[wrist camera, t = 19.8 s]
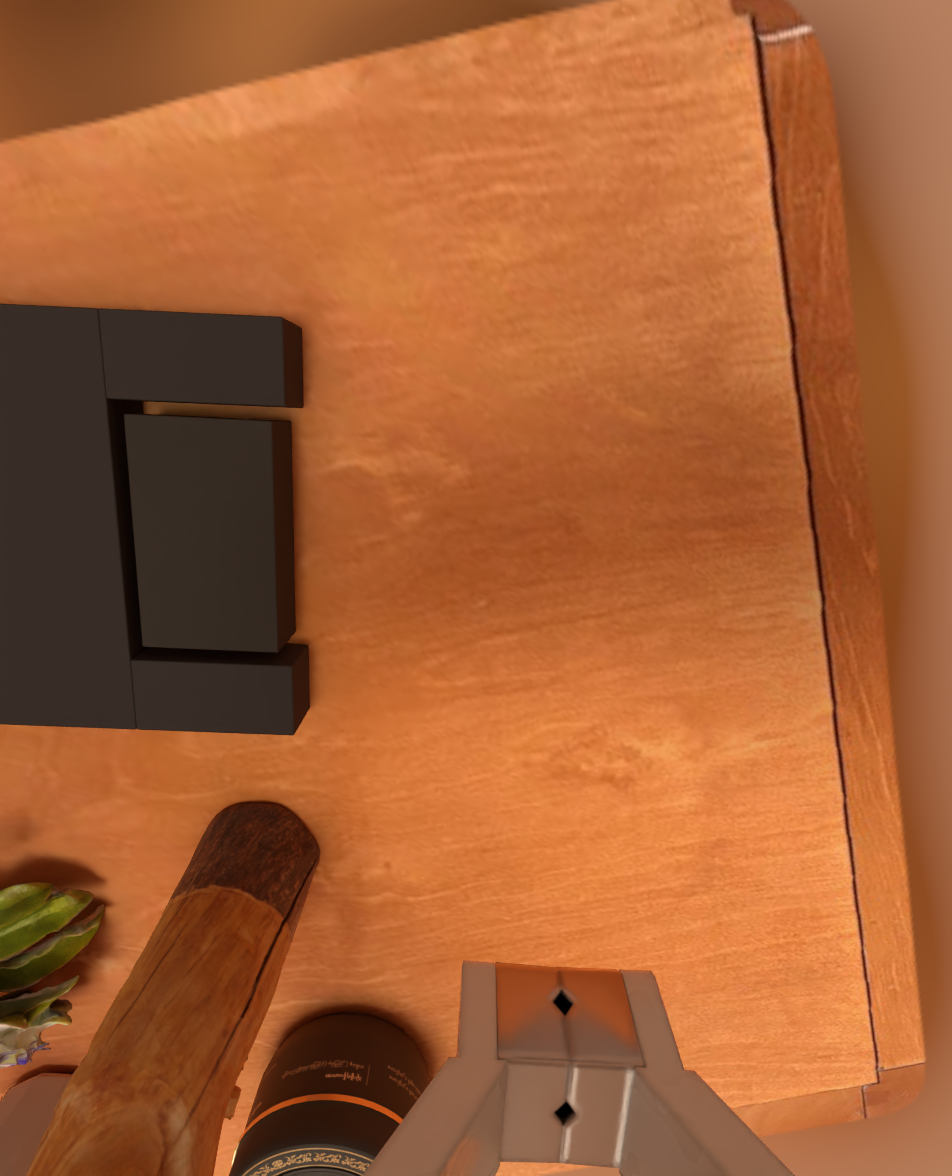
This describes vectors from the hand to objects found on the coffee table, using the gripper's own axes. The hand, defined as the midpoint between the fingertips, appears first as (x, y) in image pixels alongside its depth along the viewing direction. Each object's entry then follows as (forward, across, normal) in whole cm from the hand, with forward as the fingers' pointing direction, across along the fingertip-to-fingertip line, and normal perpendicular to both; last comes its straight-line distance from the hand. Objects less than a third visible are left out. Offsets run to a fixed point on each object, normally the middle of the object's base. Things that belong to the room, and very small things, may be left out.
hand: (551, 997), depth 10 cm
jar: (+22, +7, +29) cm, 37 cm away
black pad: (+22, +13, -3) cm, 26 cm away
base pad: (+22, +18, -3) cm, 28 cm away
